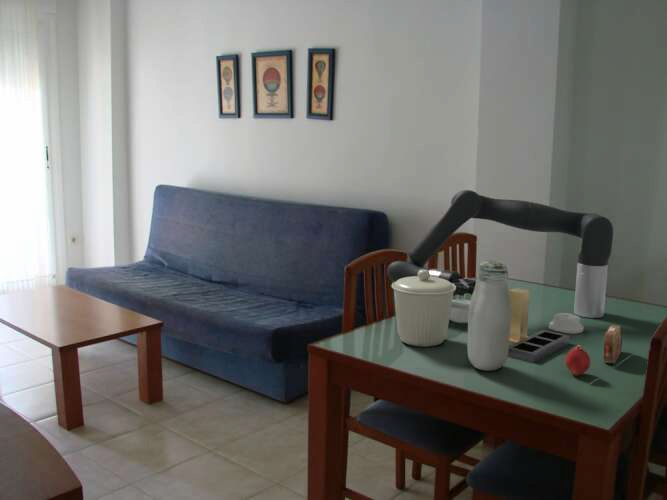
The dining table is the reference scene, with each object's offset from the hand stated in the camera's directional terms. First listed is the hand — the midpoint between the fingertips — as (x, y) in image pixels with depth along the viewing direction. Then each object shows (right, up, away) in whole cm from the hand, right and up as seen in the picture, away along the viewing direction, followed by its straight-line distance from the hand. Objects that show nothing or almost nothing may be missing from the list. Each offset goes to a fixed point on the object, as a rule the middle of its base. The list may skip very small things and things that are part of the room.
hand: (488, 289), depth 191 cm
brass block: (+7, -14, -4) cm, 16 cm away
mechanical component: (+25, -13, +5) cm, 29 cm away
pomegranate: (+14, -19, -33) cm, 40 cm away
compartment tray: (+10, -16, -14) cm, 24 cm away
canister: (-21, -15, -7) cm, 27 cm away
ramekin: (-5, -11, +15) cm, 19 cm away
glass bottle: (-7, -19, -28) cm, 35 cm away
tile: (+7, -14, -4) cm, 16 cm away
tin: (+28, -17, -20) cm, 39 cm away
